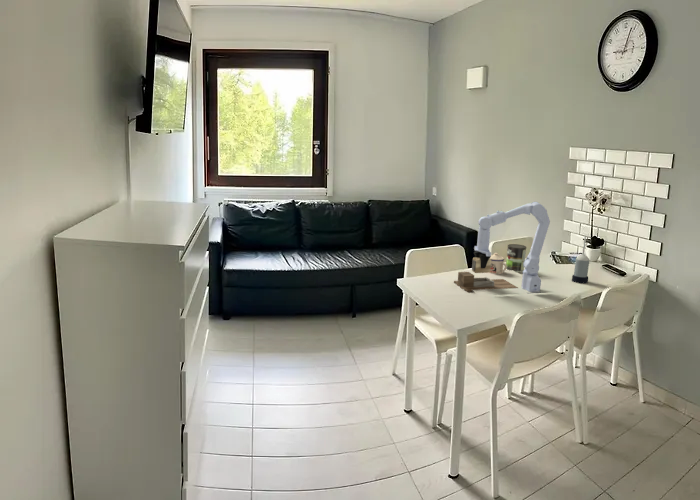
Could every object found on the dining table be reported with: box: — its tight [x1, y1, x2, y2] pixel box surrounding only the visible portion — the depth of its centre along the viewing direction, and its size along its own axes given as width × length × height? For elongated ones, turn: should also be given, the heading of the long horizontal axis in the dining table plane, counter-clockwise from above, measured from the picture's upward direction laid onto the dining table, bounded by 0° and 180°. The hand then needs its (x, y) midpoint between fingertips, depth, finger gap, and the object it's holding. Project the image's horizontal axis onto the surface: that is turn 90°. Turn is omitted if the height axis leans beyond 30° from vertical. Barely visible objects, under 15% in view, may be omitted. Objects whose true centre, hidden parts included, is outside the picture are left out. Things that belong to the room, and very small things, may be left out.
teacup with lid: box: [489, 252, 507, 275], centre depth 300 cm, size 12×9×12 cm
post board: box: [453, 271, 519, 293], centre depth 277 cm, size 16×28×7 cm, turn 103°
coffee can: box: [505, 243, 527, 273], centre depth 310 cm, size 10×10×14 cm
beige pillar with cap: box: [471, 257, 491, 274], centre depth 275 cm, size 4×8×7 cm, turn 103°
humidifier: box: [571, 235, 590, 285], centre depth 289 cm, size 8×8×25 cm
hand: (481, 266), depth 275 cm, fingers closed on beige pillar with cap, 4 cm apart
